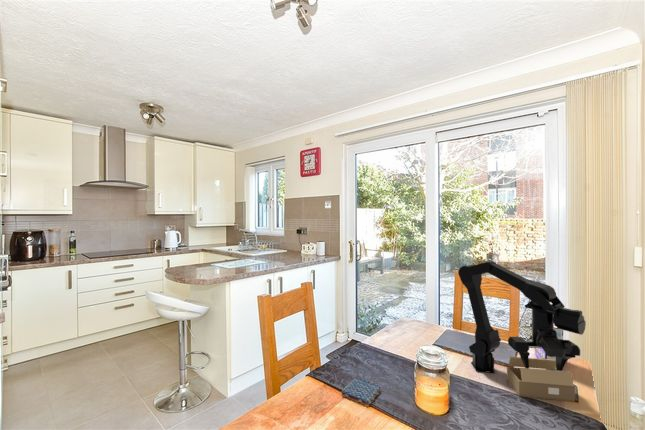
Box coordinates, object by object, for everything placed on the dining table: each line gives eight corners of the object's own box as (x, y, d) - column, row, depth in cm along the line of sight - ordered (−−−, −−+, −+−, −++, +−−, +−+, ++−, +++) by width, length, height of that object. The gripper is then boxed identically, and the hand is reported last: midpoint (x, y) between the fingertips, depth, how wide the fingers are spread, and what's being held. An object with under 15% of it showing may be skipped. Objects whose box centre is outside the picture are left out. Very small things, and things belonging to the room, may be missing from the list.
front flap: (522, 381, 96) (522, 381, 96) (520, 367, 97) (520, 367, 97) (572, 385, 94) (573, 386, 93) (570, 371, 95) (570, 371, 94)
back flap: (554, 369, 103) (553, 368, 104) (556, 360, 102) (556, 359, 102) (509, 366, 106) (508, 365, 106) (510, 357, 104) (510, 356, 105)
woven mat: (339, 397, 98) (339, 390, 98) (355, 382, 106) (355, 376, 106) (368, 409, 92) (368, 402, 92) (382, 392, 100) (382, 386, 100)
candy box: (564, 372, 111) (564, 328, 111) (545, 369, 113) (545, 326, 113) (550, 356, 124) (550, 316, 124) (533, 353, 126) (533, 315, 126)
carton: (519, 396, 97) (519, 381, 97) (507, 381, 106) (507, 366, 106) (576, 402, 94) (576, 386, 94) (559, 385, 103) (559, 371, 103)
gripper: (523, 331, 91) (523, 382, 91) (592, 335, 88) (593, 388, 88) (507, 319, 102) (507, 364, 102) (568, 322, 99) (569, 369, 99)
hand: (542, 371), depth 97 cm, fingers open, 9 cm apart
